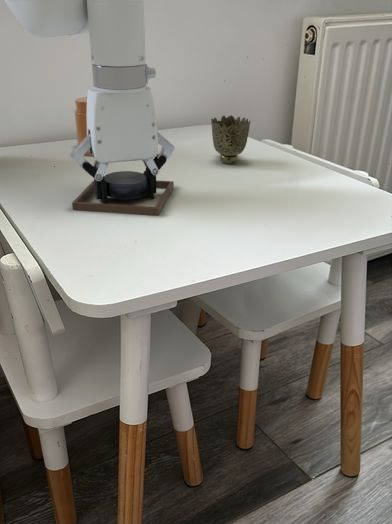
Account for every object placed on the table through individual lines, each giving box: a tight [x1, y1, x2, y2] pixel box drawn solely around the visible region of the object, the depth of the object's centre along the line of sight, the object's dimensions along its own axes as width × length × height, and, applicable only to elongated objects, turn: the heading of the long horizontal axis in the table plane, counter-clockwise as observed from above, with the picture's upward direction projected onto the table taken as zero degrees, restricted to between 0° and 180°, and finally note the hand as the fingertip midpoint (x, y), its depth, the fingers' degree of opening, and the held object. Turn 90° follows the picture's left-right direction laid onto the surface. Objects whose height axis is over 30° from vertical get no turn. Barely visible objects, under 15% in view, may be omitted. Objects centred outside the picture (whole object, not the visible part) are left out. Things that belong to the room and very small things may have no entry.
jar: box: [74, 96, 94, 157], centre depth 112 cm, size 6×6×10 cm
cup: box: [210, 114, 251, 165], centre depth 108 cm, size 8×7×8 cm
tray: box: [71, 179, 175, 217], centre depth 89 cm, size 13×13×2 cm
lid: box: [104, 170, 148, 200], centre depth 88 cm, size 7×7×2 cm
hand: (126, 199), depth 89 cm, fingers closed on lid, 6 cm apart
